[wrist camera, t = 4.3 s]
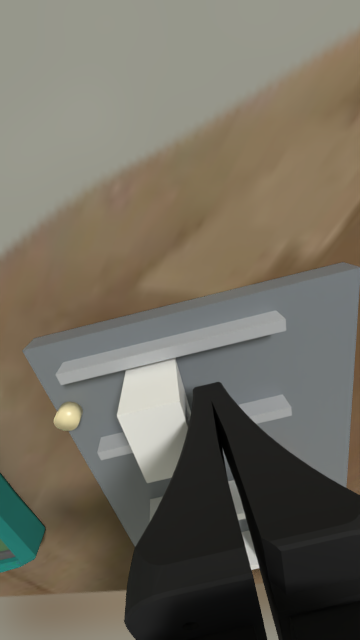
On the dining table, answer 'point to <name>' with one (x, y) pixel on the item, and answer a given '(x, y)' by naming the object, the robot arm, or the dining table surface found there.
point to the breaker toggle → (155, 417)
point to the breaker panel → (215, 377)
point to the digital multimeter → (17, 529)
